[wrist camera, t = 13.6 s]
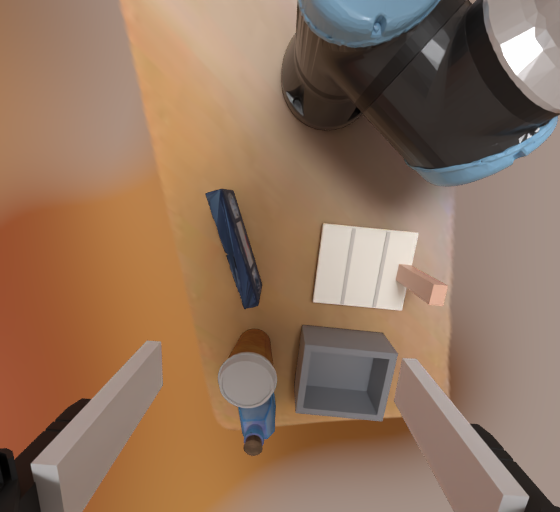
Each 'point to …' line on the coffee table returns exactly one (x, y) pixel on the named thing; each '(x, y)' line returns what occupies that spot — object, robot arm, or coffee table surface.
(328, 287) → the lid
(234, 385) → the disposable coffee cup
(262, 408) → the perfume bottle
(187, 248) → the coffee table surface
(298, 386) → the tub
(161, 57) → the coffee table surface
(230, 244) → the vhs cassette tape
